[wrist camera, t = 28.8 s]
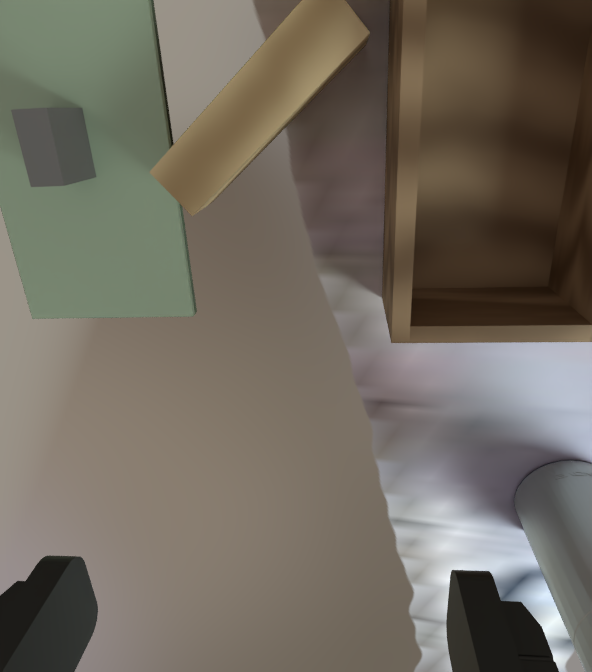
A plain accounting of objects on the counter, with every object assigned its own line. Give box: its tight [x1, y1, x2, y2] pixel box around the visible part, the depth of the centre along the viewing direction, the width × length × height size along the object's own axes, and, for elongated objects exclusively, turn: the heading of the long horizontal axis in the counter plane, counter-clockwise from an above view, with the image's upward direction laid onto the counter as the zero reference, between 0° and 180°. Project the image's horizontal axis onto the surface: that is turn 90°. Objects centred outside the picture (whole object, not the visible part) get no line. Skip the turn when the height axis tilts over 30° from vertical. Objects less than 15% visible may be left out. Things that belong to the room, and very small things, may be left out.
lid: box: [0, 0, 197, 319], centre depth 38 cm, size 25×15×6 cm, turn 3°
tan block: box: [149, 0, 370, 216], centre depth 34 cm, size 4×16×6 cm, turn 133°
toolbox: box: [382, 0, 592, 343], centre depth 32 cm, size 24×14×9 cm, turn 3°
